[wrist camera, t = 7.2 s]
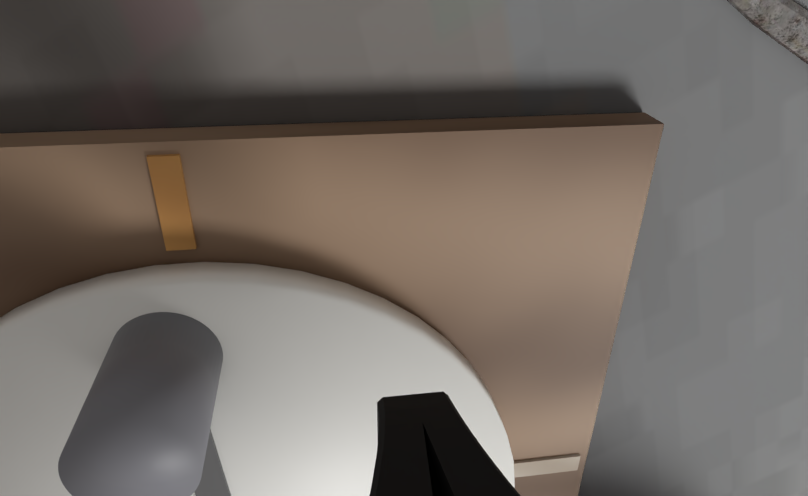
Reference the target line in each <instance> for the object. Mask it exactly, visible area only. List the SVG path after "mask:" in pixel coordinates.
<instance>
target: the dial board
mask: <svg viewBox="0 0 808 496" xmlns="http://www.w3.org/2000/svg"><path fill="white" fill-rule="evenodd" d="M663 127H664V124H663V123H662V122H660V121H658V120H656V119H655V118H653V117H651V116H649V115H648V114H646V113H613V114H582V115H552V116H521V117H490V118H459V119H429V120H398V121H367V122H337V123H306V124H275V125H244V126H214V127H183V128H152V129H122V130H91V131H60V132H29V133H0V317H2V316H3V315H5V314H7V313H8V312H10V311H11V310H13V309H15V308H16V307H18V306H21V305H23V304H25V303H27V302H30V301H32V300H34V299H36V298H38V297H41V296H43V295H45V294H47V293H50V292H52V291H54V290H56V289H59V288H62V287H65V286H68V285H72V284H75V283H78V282H81V281H85V280H88V279H91V278H95V277H98V276H101V275H104V274H109V273H115V272H120V271H126V270H131V269H137V268H142V267H148V266H153V265H166V264H180V263H195V262H221V263H246V264H259V265H265V266H272V267H279V268H285V269H292V270H298V271H303V272H307V273H311V274H315V275H318V276H322V277H326V278H329V279H333V280H337V281H341V282H344V283H347V284H350V285H352V286H355V287H357V288H360V289H362V290H365V291H367V292H370V293H372V294H375V295H377V296H380V297H382V298H384V299H386V300H388V301H390V302H392V303H393V304H395V305H397V306H399V307H401V308H402V309H404V310H406V311H408V312H410V313H411V314H413V315H415V316H417V317H419V318H420V319H421V320H423V321H424V322H425V323H426V324H428V325H429V326H430V327H432V328H433V329H434V330H436V331H437V332H438V333H440V334H441V335H442V336H444V337H445V338H446V339H447V340H448V341H449V342H450V343H451V344H452V345H453V346H454V347H455V348H456V349H457V350H458V351H459V352H460V353H461V354H462V355H463V356H464V357H465V358H466V359H467V360H468V361H469V362H470V364H471V365H472V366H473V368H474V369H475V371H476V372H477V374H478V375H479V376H480V378H481V379H482V381H483V382H484V384H485V385H486V387H487V389H488V391H489V393H490V395H491V397H492V400H493V402H494V404H495V406H496V408H497V411H498V413H499V415H500V418H501V421H502V423H503V426H504V428H505V431H506V433H507V436H508V440H509V444H510V448H511V452H512V456H513V460H514V479H515V489H516V491H517V492H518V493H519V494H520V495H521V496H578V492H579V488H580V484H581V479H582V475H583V471H584V466H585V462H586V458H587V454H588V449H589V445H590V441H591V436H592V432H593V428H594V423H595V419H596V415H597V411H598V406H599V402H600V398H601V393H602V389H603V385H604V380H605V376H606V372H607V367H608V363H609V359H610V355H611V350H612V346H613V342H614V337H615V333H616V329H617V324H618V320H619V316H620V312H621V307H622V303H623V299H624V294H625V290H626V286H627V281H628V277H629V273H630V269H631V264H632V260H633V256H634V251H635V247H636V243H637V238H638V234H639V230H640V225H641V221H642V217H643V213H644V208H645V204H646V200H647V195H648V191H649V187H650V182H651V178H652V174H653V170H654V165H655V161H656V157H657V152H658V148H659V144H660V139H661V135H662V131H663Z"/></svg>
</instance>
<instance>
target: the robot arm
mask: <svg viewBox="0 0 808 496" xmlns="http://www.w3.org/2000/svg"><path fill="white" fill-rule="evenodd" d="M377 433H378V446H377V455H376V462H375V468H374V474H373V480H372V486H371V491H370V495H369V496H521V495H520V494H519V493H518V492H517V491H516V489H515V488H514V487H513V486H512V485H511V483H510V482H509V481H508V480H507V479H506V477H505V476H504V475H503V473H502V472H501V471H500V470H499V468H498V467H497V466H496V464H495V463H494V462H493V461H492V459H491V458H490V457H489V455H488V454H487V453H486V451H485V450H484V449H483V447H482V446H481V445H480V443H479V442H478V440H477V439H476V438H475V436H474V435H473V433H472V432H471V431H470V429H469V428H468V426H467V425H466V423H465V422H464V420H463V419H462V417H461V416H460V414H459V412H458V411H457V409H456V408H455V406H454V404H453V403H452V401H451V399H450V398H449V396H448V395H447V394H446V393H445V392H443V391H442V392H432V393H421V394H411V395H400V396H390V397H382V398H381V399H380V400H379V401H378V402H377Z"/></svg>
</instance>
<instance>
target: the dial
mask: <svg viewBox="0 0 808 496" xmlns="http://www.w3.org/2000/svg"><path fill="white" fill-rule="evenodd" d="M442 391H443V392H445V393H446V394H447V395H448V396H449V398H450V399H451V401H452V403H453V404H454V406H455V408H456V409H457V411H458V412H459V414H460V416H461V417H462V419H463V420H464V422H465V423H466V425H467V426H468V428H469V429H470V431H471V432H472V433H473V435H474V436H475V438H476V439H477V440H478V442H479V443H480V445H481V446H482V447H483V449H484V450H485V451H486V453H487V454H488V455H489V457H490V458H491V459H492V461H493V462H494V463H495V464H496V466H497V467H498V468H499V470H500V471H501V472H502V473H503V475H504V476H505V477H506V479H507V480H508V481H509V482H510V483H511V485H512V486H513V487H514V488H515V479H514V460H513V456H512V452H511V448H510V444H509V440H508V436H507V433H506V431H505V428H504V426H503V423H502V421H501V418H500V415H499V413H498V411H497V408H496V406H495V404H494V402H493V400H492V397H491V395H490V393H489V391H488V389H487V387H486V385H485V384H484V382H483V381H482V379H481V378H480V376H479V375H478V374H477V372H476V371H475V369H474V368H473V366H472V365H471V364H470V362H469V361H468V360H467V359H466V358H465V357H464V356H463V355H462V354H461V353H460V352H459V351H458V350H457V349H456V348H455V347H454V346H453V345H452V344H451V343H450V342H449V341H448V340H447V339H446V338H445V337H444V336H442V335H441V334H440V333H438V332H437V331H436V330H434V329H433V328H432V327H430V326H429V325H428V324H426V323H425V322H424V321H423V320H421V319H420V318H419V317H417V316H415V315H413V314H411V313H410V312H408V311H406V310H404V309H402V308H401V307H399V306H397V305H395V304H393V303H392V302H390V301H388V300H386V299H384V298H382V297H380V296H377V295H375V294H372V293H370V292H367V291H365V290H362V289H360V288H357V287H355V286H352V285H350V284H347V283H344V282H341V281H337V280H333V279H329V278H326V277H322V276H318V275H315V274H311V273H307V272H303V271H298V270H292V269H285V268H279V267H272V266H265V265H259V264H246V263H221V262H195V263H180V264H166V265H153V266H148V267H142V268H137V269H131V270H126V271H120V272H115V273H109V274H104V275H101V276H98V277H95V278H91V279H88V280H85V281H81V282H78V283H75V284H72V285H68V286H65V287H62V288H59V289H56V290H54V291H52V292H50V293H47V294H45V295H43V296H41V297H38V298H36V299H34V300H32V301H30V302H27V303H25V304H23V305H21V306H18V307H16V308H15V309H13V310H11V311H10V312H8V313H7V314H5V315H3V316H2V317H0V496H369V495H370V491H371V486H372V480H373V474H374V468H375V462H376V455H377V446H378V433H377V402H378V401H379V400H380V399H381V398H382V397H390V396H400V395H411V394H421V393H432V392H442Z"/></svg>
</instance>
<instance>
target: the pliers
mask: <svg viewBox="0 0 808 496" xmlns="http://www.w3.org/2000/svg"><path fill="white" fill-rule="evenodd" d="M727 1H728V2H729V3H730V4H731V5H732V6H733V7H734V8H736V9H737V10H738V11H739V12H740V13H741V14H742V15H743V16H744V17H745V18H746V19H748V20H749V21H750V22H751V23H752V24H753V25H755V26H756V27H757V28H759V29H760V30H761V31H763V32H764V33H765V34H767V35H768V36H770V37H771V38H772V39H774V40H775V41H776V42H778V43H779V44H781V45H782V46H783V47H785V48H786V49H787V50H789V51H790V52H792V53H793V54H794V55H796V56H797V57H799V58H800V59H801V60H803V61H804V62H806V63H807V64H808V11H807V10H806V9H804V8H803V7H801V6H800V5H798V4H797V3H795V2H794V1H793V0H727Z"/></svg>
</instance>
